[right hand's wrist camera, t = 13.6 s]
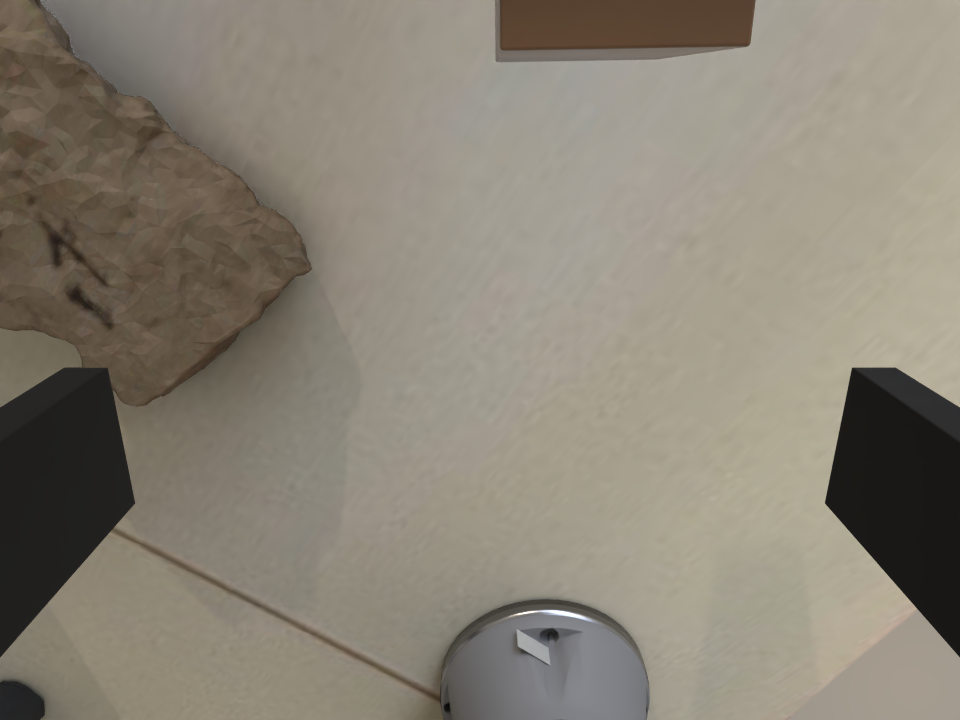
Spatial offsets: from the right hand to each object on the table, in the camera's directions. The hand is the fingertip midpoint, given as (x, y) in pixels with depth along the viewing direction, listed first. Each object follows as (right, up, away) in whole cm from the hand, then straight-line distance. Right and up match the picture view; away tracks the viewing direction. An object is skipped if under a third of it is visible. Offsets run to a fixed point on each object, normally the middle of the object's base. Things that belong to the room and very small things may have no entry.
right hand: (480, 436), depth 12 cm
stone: (-21, +10, +27) cm, 35 cm away
